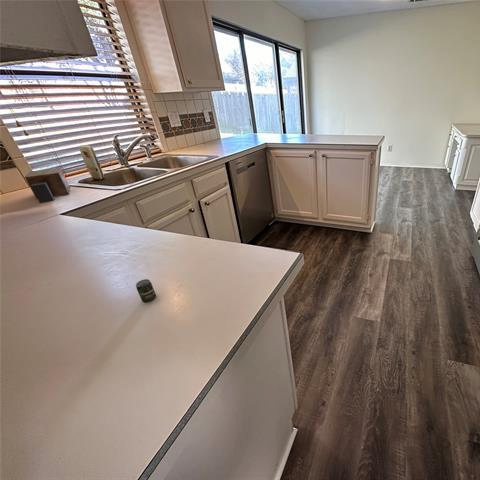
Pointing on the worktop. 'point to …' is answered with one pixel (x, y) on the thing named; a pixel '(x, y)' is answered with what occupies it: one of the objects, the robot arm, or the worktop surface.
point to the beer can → (145, 290)
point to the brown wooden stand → (50, 181)
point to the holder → (42, 192)
